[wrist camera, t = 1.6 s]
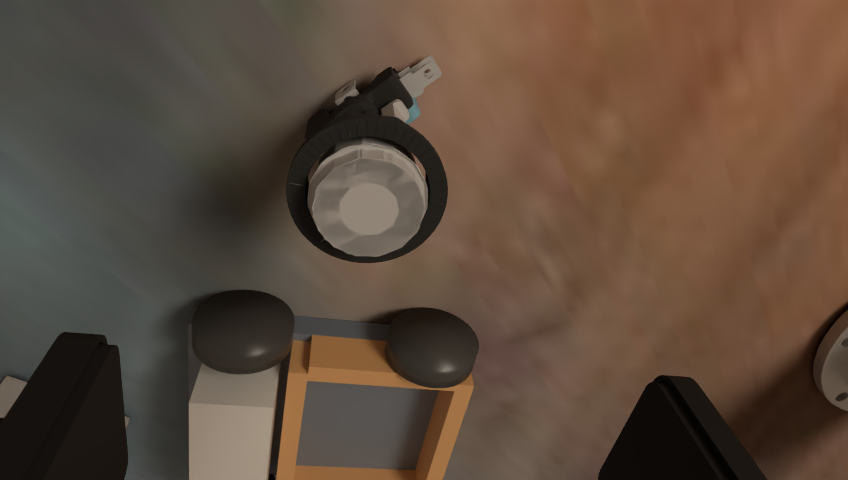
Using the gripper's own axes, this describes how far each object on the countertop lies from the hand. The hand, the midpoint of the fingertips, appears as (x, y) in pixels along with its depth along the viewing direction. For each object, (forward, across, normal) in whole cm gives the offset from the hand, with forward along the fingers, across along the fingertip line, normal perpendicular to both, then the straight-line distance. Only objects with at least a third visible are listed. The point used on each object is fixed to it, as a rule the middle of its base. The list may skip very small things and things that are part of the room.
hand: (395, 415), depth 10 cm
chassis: (+19, 0, +19) cm, 27 cm away
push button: (+19, 0, 0) cm, 19 cm away
